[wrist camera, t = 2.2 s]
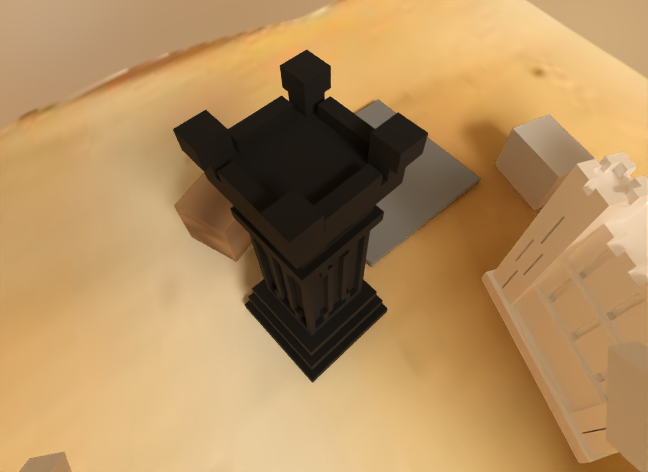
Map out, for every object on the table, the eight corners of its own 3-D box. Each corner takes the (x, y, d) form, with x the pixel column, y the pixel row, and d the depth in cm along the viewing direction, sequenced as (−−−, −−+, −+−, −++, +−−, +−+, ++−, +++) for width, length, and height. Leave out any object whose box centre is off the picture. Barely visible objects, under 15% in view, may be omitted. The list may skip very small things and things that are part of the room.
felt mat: (273, 168, 41) (273, 164, 41) (377, 103, 46) (378, 99, 45) (370, 266, 36) (371, 263, 35) (478, 181, 40) (480, 178, 40)
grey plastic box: (494, 165, 41) (512, 128, 37) (527, 152, 42) (549, 114, 38) (533, 211, 39) (559, 176, 34) (568, 196, 39) (597, 160, 35)
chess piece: (246, 307, 34) (158, 129, 17) (318, 248, 37) (307, 41, 20) (312, 382, 31) (287, 257, 14) (386, 311, 34) (442, 133, 17)
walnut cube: (192, 237, 38) (174, 205, 33) (225, 197, 40) (212, 163, 36) (236, 262, 36) (224, 232, 32) (269, 219, 39) (261, 186, 34)
